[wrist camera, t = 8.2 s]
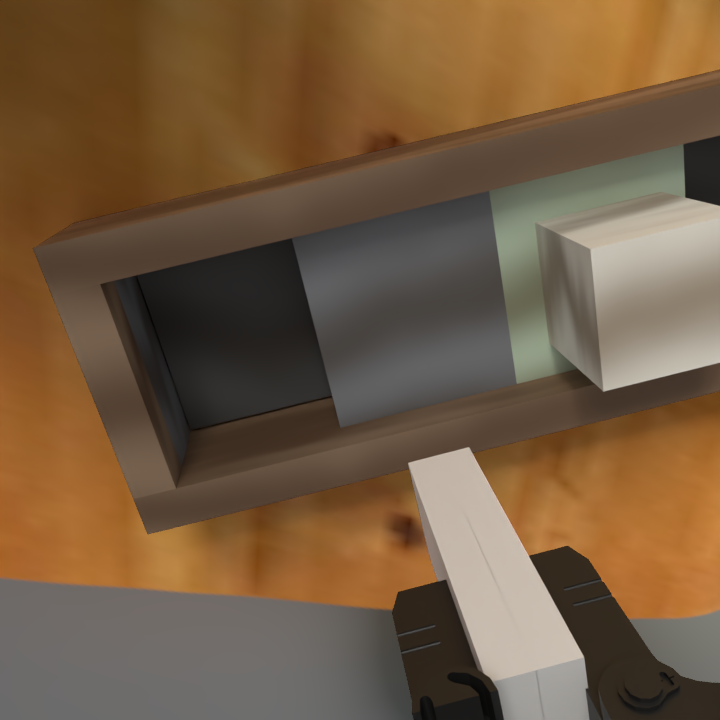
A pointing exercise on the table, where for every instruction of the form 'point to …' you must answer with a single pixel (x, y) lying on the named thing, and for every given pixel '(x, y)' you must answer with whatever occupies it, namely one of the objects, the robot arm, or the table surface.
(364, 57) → the table surface
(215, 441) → the trap box
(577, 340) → the block
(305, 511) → the table surface
